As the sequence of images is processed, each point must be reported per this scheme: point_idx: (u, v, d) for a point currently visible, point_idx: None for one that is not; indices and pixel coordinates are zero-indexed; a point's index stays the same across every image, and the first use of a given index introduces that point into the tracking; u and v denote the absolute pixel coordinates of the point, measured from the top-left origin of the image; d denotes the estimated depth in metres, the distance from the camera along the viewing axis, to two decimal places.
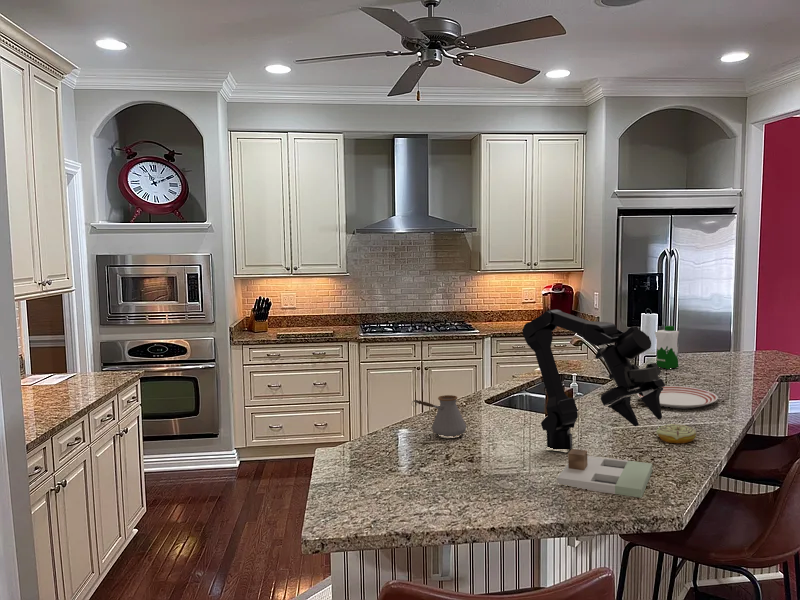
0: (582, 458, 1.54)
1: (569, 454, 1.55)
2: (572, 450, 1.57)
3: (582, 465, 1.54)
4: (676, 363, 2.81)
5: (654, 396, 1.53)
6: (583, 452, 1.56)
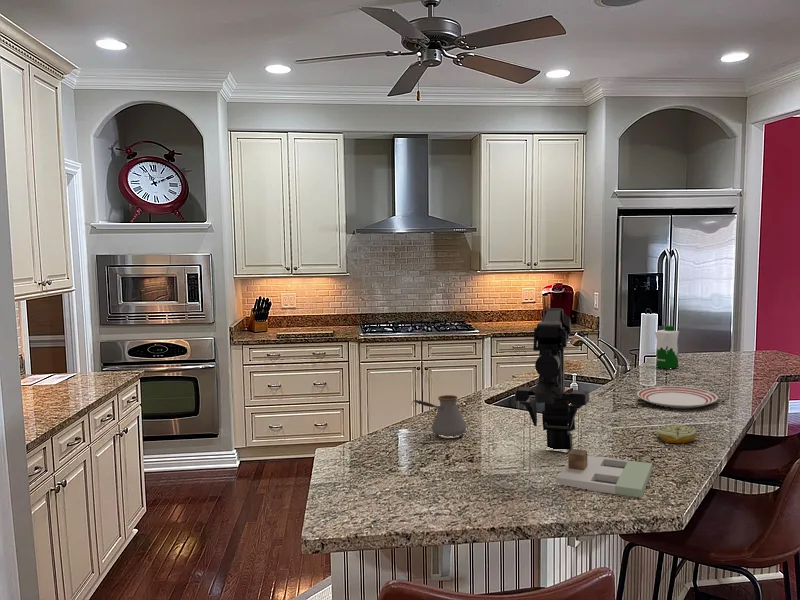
0: (582, 458, 1.54)
1: (569, 454, 1.55)
2: (572, 450, 1.57)
3: (582, 465, 1.54)
4: (676, 363, 2.81)
5: (569, 409, 1.55)
6: (583, 452, 1.56)
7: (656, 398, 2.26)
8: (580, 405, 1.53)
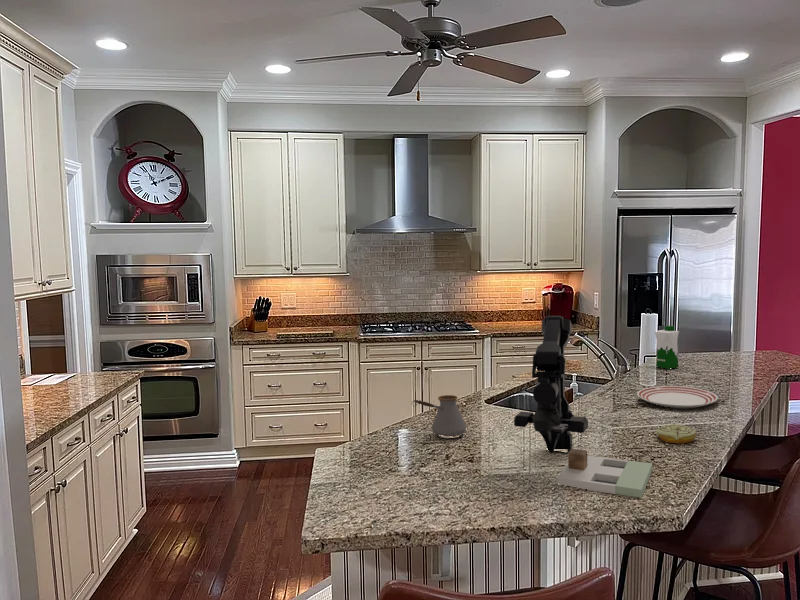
0: (582, 458, 1.54)
1: (569, 454, 1.55)
2: (572, 450, 1.57)
3: (582, 465, 1.54)
4: (676, 363, 2.81)
5: None
6: (583, 452, 1.56)
7: (656, 398, 2.26)
8: (562, 430, 1.56)
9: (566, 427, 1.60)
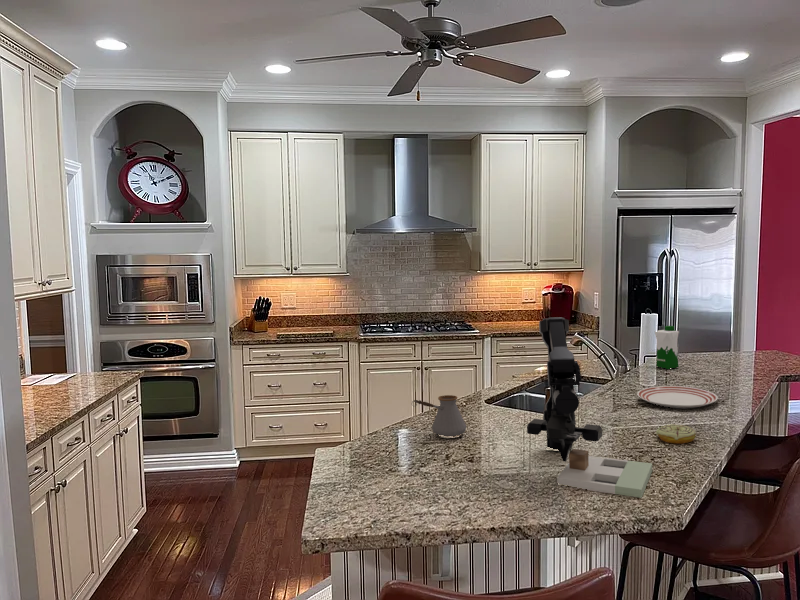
0: (583, 458, 1.54)
1: (570, 454, 1.55)
2: (574, 450, 1.57)
3: (583, 465, 1.54)
4: (676, 363, 2.81)
5: None
6: (584, 452, 1.55)
7: (656, 398, 2.26)
8: (575, 438, 1.54)
9: (579, 435, 1.58)
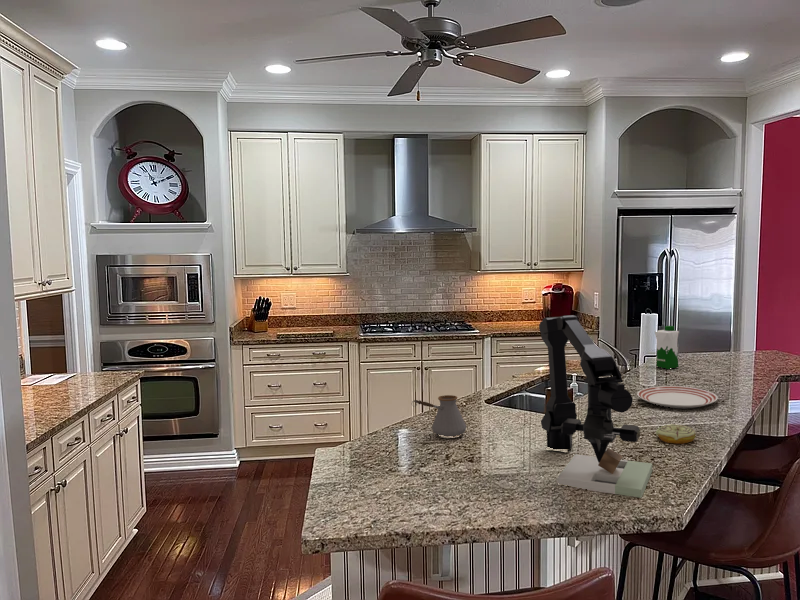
0: (616, 463, 1.49)
1: (605, 454, 1.51)
2: (609, 450, 1.53)
3: (613, 469, 1.50)
4: (676, 363, 2.81)
5: None
6: (619, 457, 1.51)
7: (656, 398, 2.26)
8: (612, 439, 1.50)
9: None
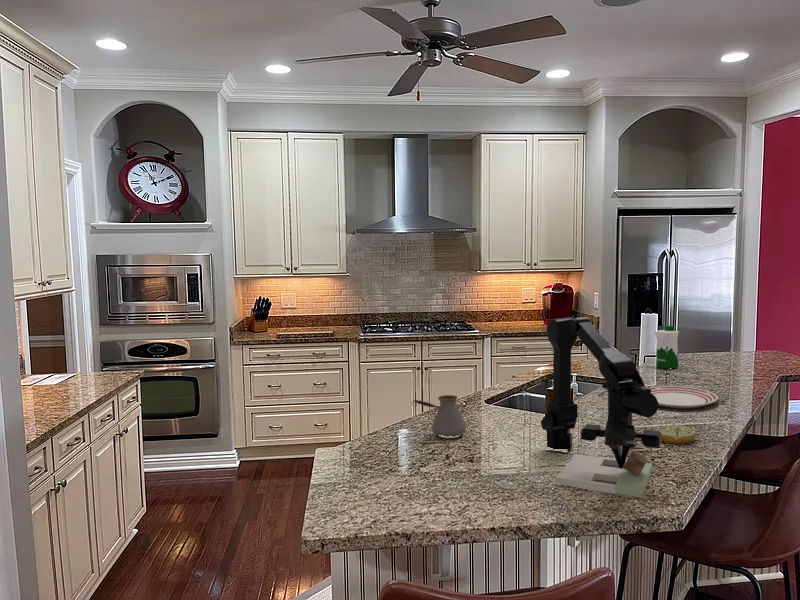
0: (642, 466, 1.47)
1: (631, 456, 1.48)
2: (634, 453, 1.50)
3: (639, 472, 1.47)
4: (676, 363, 2.81)
5: (622, 448, 1.49)
6: (644, 459, 1.48)
7: (656, 398, 2.26)
8: (634, 445, 1.47)
9: None
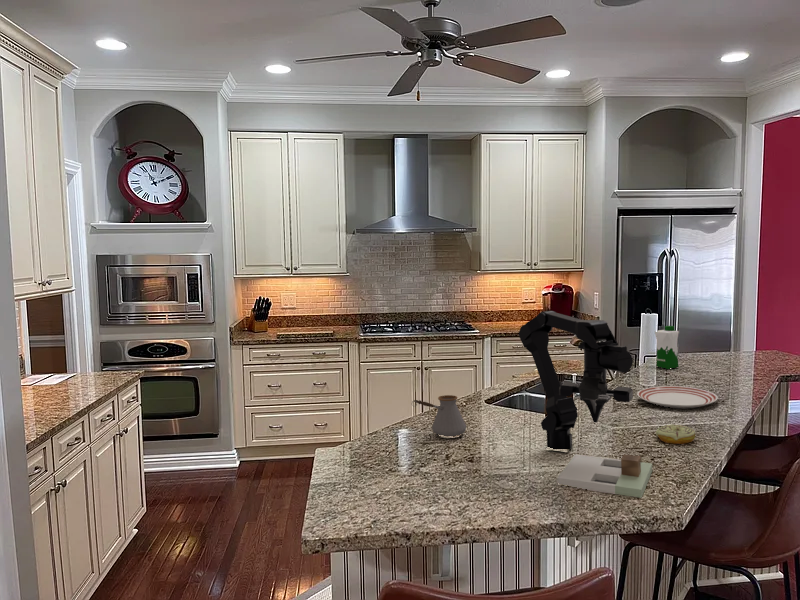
0: (636, 464, 1.47)
1: (622, 460, 1.49)
2: (625, 456, 1.51)
3: (636, 471, 1.48)
4: (676, 363, 2.81)
5: (596, 403, 1.61)
6: (637, 458, 1.49)
7: (656, 398, 2.26)
8: (607, 400, 1.59)
9: None
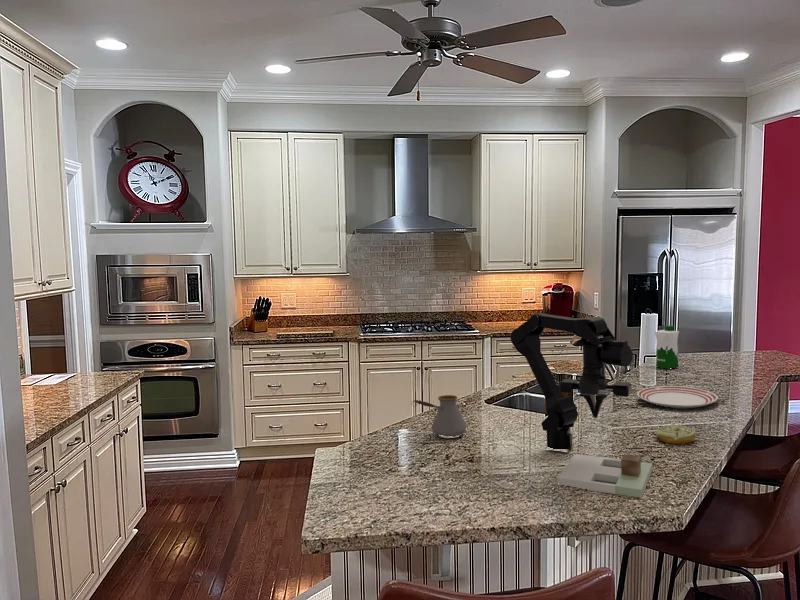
0: (636, 464, 1.47)
1: (622, 460, 1.49)
2: (625, 456, 1.51)
3: (636, 471, 1.48)
4: (676, 363, 2.81)
5: None
6: (637, 458, 1.49)
7: (656, 398, 2.26)
8: (606, 395, 1.62)
9: (609, 393, 1.66)
